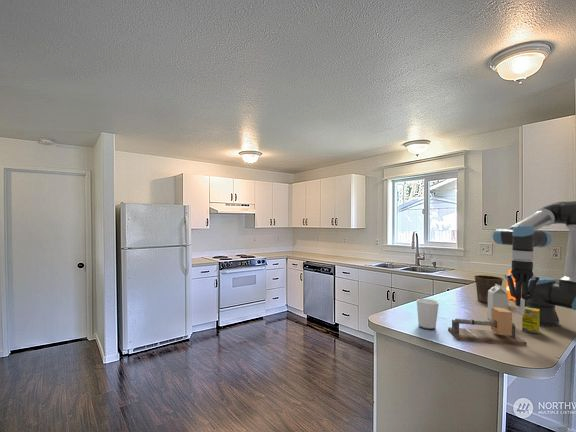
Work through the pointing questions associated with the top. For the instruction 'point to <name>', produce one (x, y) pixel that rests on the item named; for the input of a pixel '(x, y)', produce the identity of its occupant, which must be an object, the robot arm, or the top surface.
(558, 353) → the top surface
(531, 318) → the supplement box
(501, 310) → the collar
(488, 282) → the plant pot
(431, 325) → the cup
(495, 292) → the milk carton
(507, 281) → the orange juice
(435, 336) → the top surface
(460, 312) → the top surface
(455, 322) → the pipe stand
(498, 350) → the top surface
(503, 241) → the robot arm
